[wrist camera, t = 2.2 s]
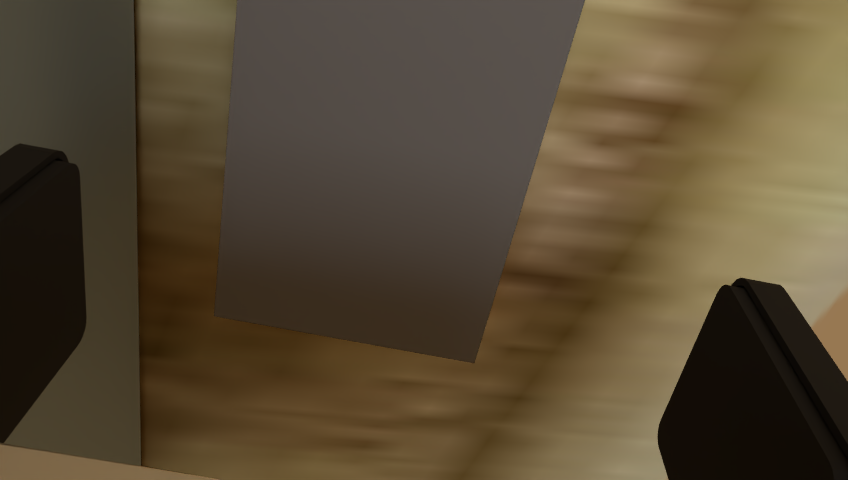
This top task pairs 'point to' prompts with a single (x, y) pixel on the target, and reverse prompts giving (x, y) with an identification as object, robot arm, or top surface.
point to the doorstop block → (383, 162)
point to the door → (84, 207)
